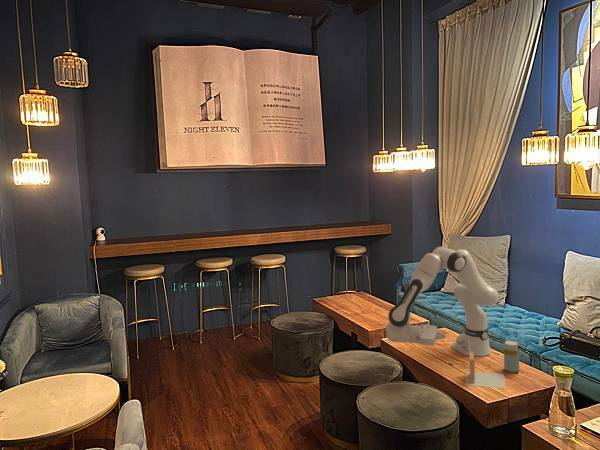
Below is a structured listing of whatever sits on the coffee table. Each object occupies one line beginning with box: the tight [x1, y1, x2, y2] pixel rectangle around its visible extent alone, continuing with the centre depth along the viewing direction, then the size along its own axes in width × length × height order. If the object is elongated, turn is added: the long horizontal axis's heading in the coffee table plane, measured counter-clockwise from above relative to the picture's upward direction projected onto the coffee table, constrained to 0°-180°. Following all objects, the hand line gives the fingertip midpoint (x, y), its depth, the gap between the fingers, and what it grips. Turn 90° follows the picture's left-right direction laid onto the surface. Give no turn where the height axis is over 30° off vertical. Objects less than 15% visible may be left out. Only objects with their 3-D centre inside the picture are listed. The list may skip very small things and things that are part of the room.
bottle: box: [503, 340, 520, 374], centre depth 246 cm, size 7×7×15 cm
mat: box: [465, 370, 507, 389], centre depth 239 cm, size 18×16×1 cm
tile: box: [469, 352, 476, 383], centre depth 240 cm, size 2×10×12 cm, turn 160°
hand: (445, 335), depth 243 cm, fingers closed
